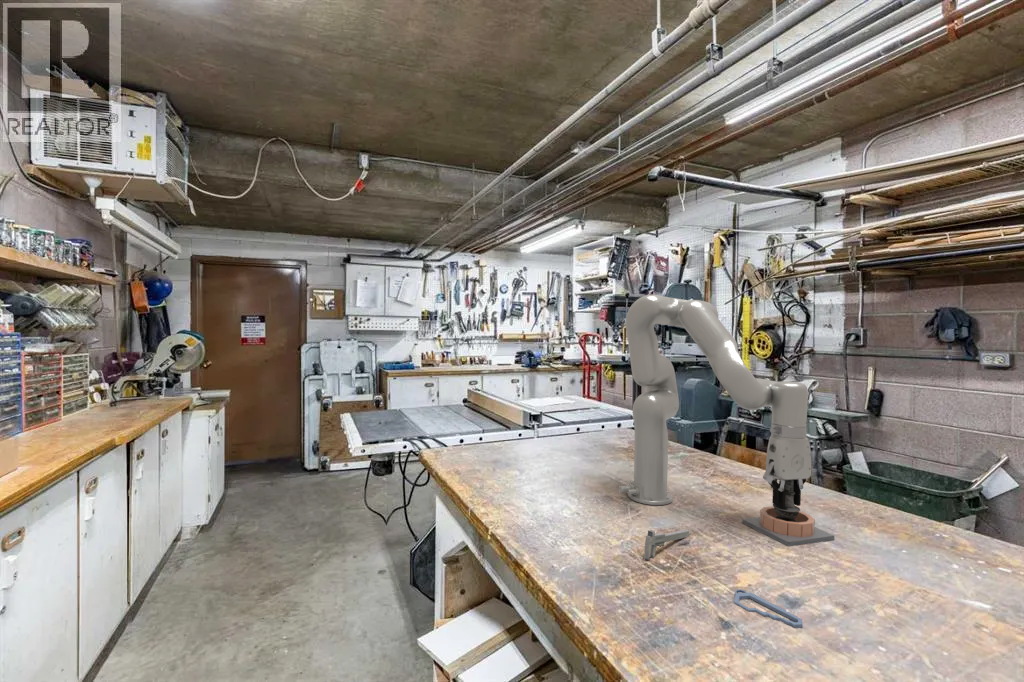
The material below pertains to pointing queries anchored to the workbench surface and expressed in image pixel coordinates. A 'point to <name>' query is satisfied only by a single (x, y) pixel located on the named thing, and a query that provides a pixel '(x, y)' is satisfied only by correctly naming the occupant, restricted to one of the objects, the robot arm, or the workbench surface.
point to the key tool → (771, 606)
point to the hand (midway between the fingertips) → (786, 504)
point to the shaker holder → (788, 528)
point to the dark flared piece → (787, 504)
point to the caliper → (660, 541)
